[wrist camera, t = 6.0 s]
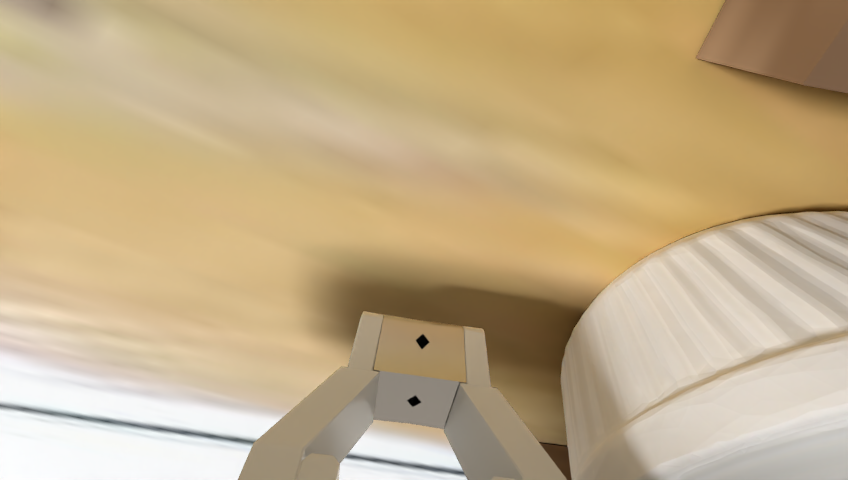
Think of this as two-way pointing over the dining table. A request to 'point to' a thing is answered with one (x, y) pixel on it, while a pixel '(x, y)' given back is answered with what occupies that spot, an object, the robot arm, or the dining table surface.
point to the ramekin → (717, 358)
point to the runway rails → (772, 60)
